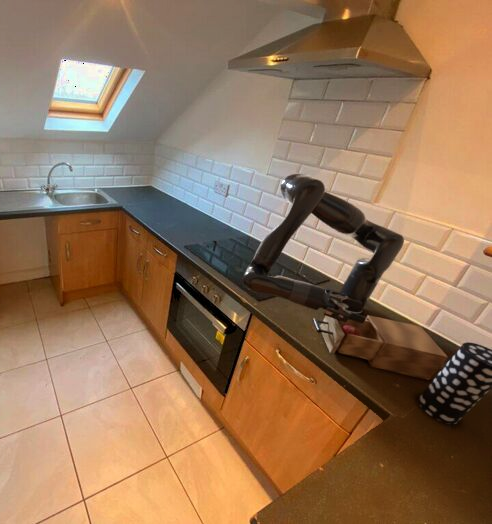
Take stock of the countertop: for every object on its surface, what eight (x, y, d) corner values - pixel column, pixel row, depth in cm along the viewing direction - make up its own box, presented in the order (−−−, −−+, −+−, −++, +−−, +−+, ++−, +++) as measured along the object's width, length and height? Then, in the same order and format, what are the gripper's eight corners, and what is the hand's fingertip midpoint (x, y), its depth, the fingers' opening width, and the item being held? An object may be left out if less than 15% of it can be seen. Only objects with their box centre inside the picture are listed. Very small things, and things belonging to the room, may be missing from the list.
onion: (337, 329, 99) (345, 316, 93) (357, 337, 96) (366, 325, 90) (331, 342, 97) (339, 331, 91) (352, 352, 94) (361, 340, 88)
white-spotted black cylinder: (428, 392, 84) (473, 339, 75) (464, 419, 78) (519, 364, 68) (410, 400, 81) (455, 345, 72) (446, 428, 75) (500, 373, 65)
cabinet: (371, 366, 91) (386, 343, 87) (354, 336, 103) (367, 315, 98) (428, 380, 88) (447, 356, 84) (405, 348, 100) (421, 326, 96)
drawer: (313, 349, 94) (323, 330, 90) (305, 324, 105) (313, 306, 101) (381, 365, 91) (394, 346, 87) (364, 338, 101) (375, 320, 98)
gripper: (309, 295, 90) (371, 315, 84) (310, 275, 101) (365, 291, 95) (300, 315, 93) (359, 335, 87) (302, 293, 105) (355, 310, 99)
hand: (362, 312), depth 91 cm, fingers open, 8 cm apart
